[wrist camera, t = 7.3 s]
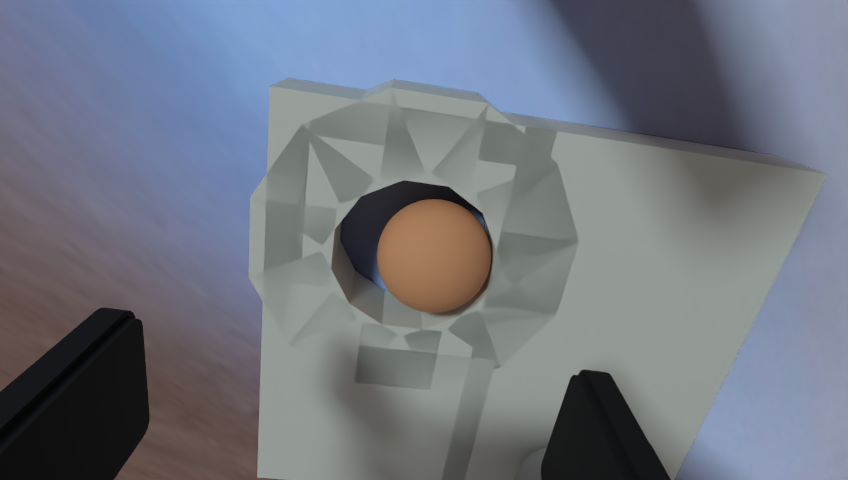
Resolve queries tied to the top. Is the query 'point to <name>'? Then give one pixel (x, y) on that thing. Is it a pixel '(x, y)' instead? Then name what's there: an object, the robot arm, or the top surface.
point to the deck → (501, 281)
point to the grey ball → (531, 466)
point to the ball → (433, 255)
